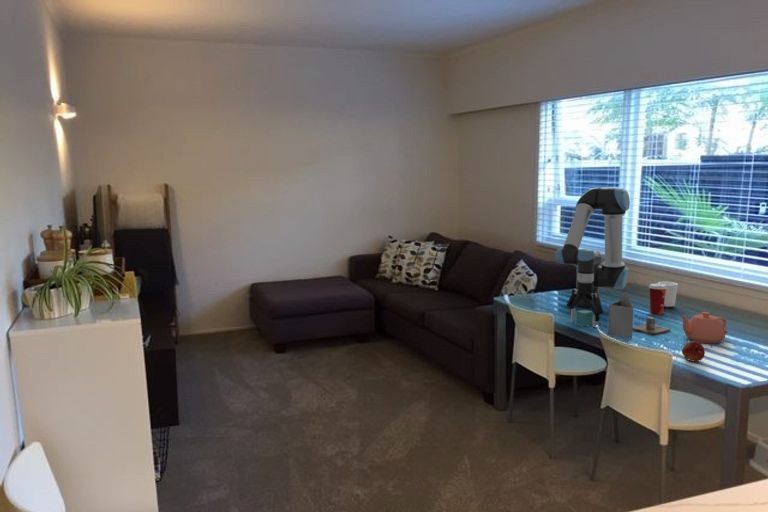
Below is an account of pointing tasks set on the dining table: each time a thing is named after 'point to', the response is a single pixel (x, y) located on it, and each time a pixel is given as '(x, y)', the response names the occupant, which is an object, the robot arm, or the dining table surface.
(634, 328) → the post block
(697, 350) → the fruit
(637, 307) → the dining table surface
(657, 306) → the coffee cup
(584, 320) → the cap
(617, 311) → the planter
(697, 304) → the dining table surface
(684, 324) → the teapot
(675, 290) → the cup
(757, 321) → the dining table surface
